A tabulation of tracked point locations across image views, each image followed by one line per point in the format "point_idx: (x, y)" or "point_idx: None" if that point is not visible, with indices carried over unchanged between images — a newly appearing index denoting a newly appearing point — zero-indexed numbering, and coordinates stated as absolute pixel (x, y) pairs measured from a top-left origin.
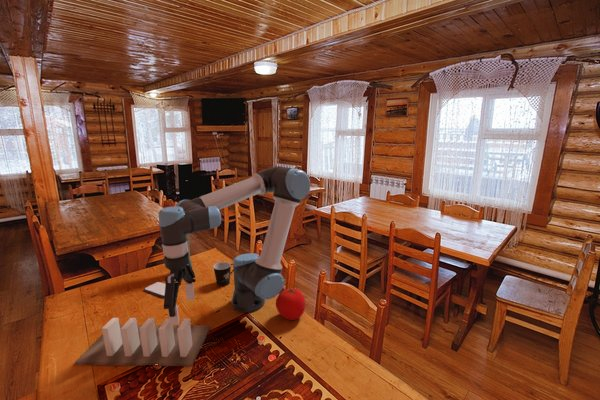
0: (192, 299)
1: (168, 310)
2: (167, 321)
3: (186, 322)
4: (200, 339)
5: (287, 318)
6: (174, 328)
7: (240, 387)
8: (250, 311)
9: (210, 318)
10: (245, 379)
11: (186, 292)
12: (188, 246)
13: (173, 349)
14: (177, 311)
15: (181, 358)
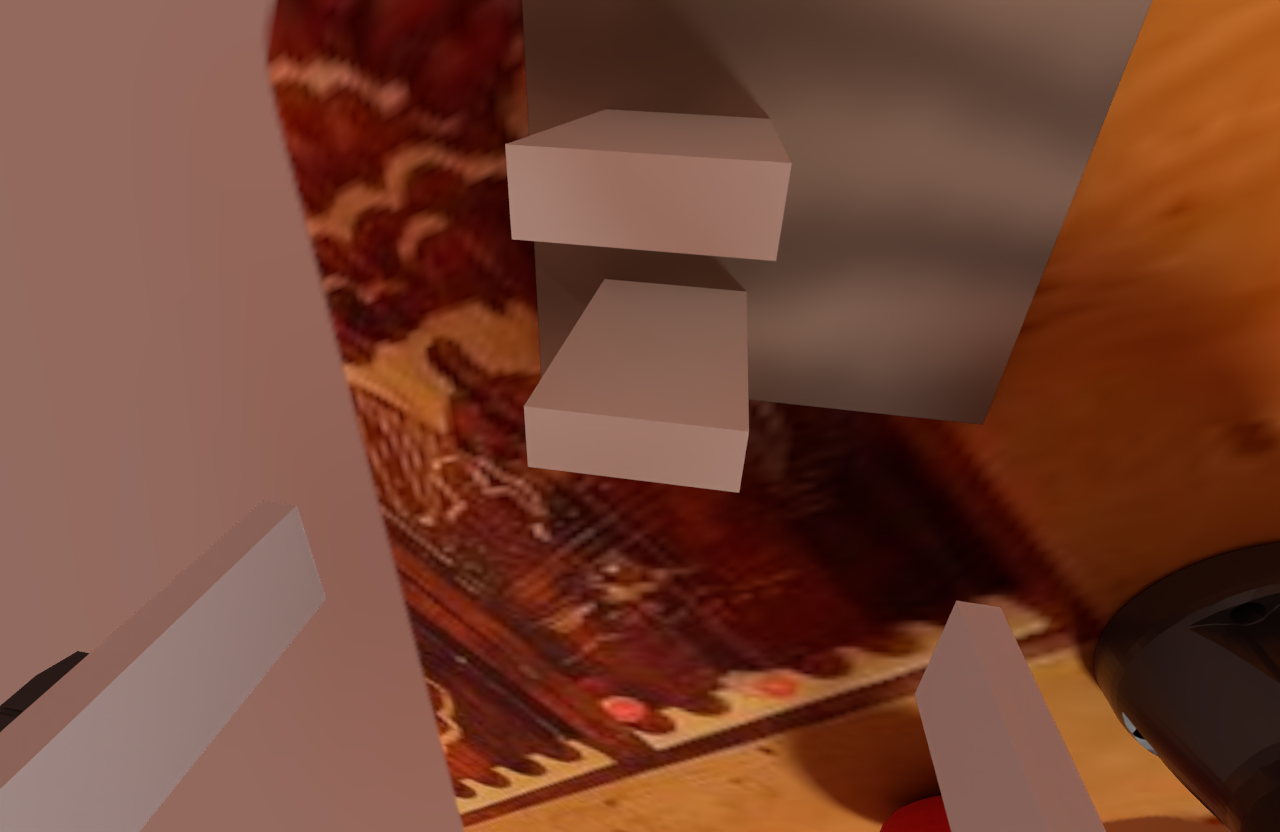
0: (924, 690)
1: (3, 731)
2: (693, 219)
3: (655, 475)
4: (799, 383)
5: (889, 821)
6: (1062, 61)
7: (438, 602)
8: (1095, 658)
9: (1139, 390)
10: (484, 619)
11: (1020, 788)
12: None
13: None
14: (134, 801)
15: (589, 292)
